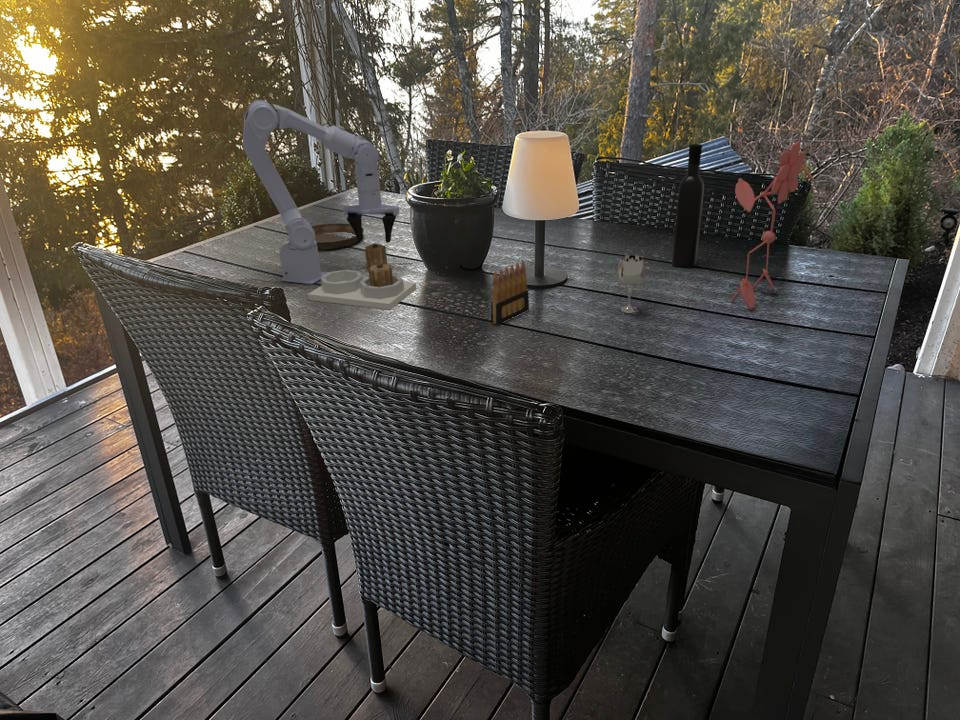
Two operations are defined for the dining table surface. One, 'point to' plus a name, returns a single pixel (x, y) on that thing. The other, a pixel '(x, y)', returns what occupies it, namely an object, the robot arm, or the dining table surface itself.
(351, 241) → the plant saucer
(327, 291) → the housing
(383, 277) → the seated gear
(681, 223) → the wine bottle
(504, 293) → the ammunition clip
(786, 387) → the dining table surface
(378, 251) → the loose gear
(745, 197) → the figurine
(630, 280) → the wineglass
